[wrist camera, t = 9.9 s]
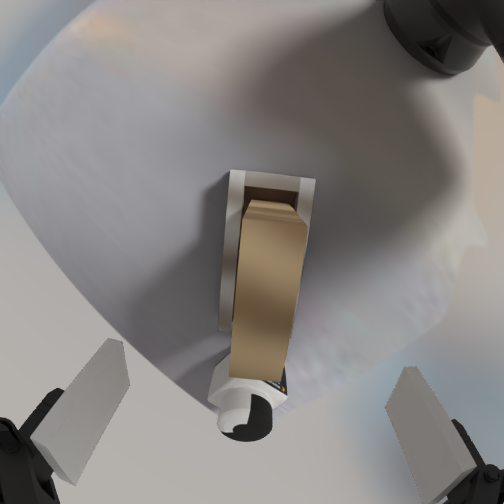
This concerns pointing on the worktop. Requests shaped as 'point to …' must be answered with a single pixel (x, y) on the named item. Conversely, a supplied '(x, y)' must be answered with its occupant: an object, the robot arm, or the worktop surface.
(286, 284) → the door slab
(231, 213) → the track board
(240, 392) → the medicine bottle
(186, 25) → the worktop surface
